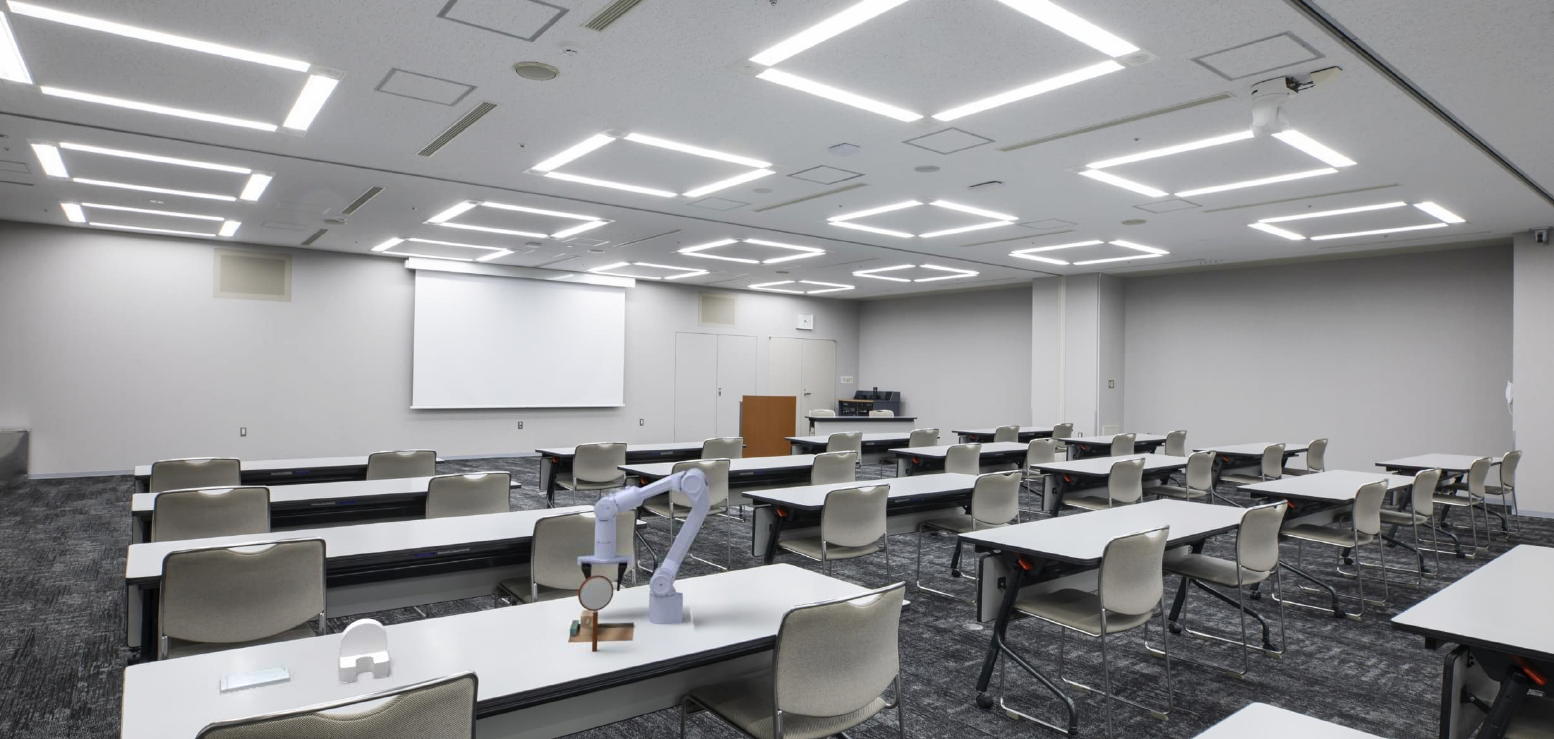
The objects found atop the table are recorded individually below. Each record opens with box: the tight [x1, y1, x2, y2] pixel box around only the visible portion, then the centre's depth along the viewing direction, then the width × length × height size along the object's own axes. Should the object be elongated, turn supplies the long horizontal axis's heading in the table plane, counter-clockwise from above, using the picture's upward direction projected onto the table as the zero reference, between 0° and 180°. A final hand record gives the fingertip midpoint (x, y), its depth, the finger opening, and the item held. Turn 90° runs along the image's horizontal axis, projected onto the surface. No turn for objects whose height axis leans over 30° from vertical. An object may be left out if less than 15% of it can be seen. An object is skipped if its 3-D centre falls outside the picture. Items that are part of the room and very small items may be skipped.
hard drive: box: [219, 665, 291, 694], centre depth 169 cm, size 2×8×12 cm
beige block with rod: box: [579, 609, 599, 636], centre depth 200 cm, size 4×10×5 cm, turn 9°
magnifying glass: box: [577, 574, 614, 653], centre depth 188 cm, size 9×2×20 cm, turn 117°
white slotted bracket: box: [338, 618, 390, 683], centre depth 179 cm, size 10×18×11 cm, turn 30°
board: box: [567, 619, 635, 643], centre depth 200 cm, size 16×11×4 cm
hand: (604, 590), depth 212 cm, fingers open, 7 cm apart
